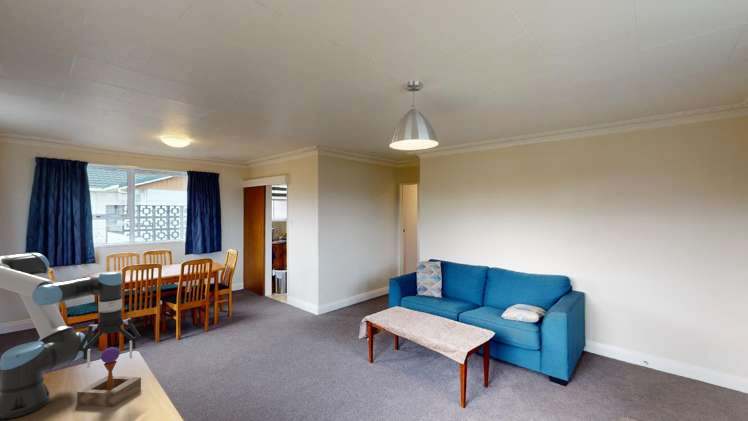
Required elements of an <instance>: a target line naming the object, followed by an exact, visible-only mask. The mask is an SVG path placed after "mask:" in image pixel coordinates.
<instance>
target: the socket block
mask: <svg viewBox="0 0 748 421" xmlns="http://www.w3.org/2000/svg"><path fill="white" fill-rule="evenodd" d="M107 380H108V375H106V376H104V377H102V378H101V379H99V380H96V381H95V382H93V383H91V384H90V385H87V386H85V387H84V388H82V389H79V390H77V392H76V405H77V406H93V407H96V406H97V407H116V406H118V404H120V403H121V402H123V401H125V400H126V399H128V398H129V397H131V396H133V395H134V394H136V393H137V392H139V391H140V390H142V377H141V376H139V377H138V376H118V375H113V382H114V389H112V390H110V391H109V390H106V387H107Z"/></svg>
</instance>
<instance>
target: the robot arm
mask: <svg viewBox="0 0 748 421" xmlns="http://www.w3.org/2000/svg"><path fill="white" fill-rule="evenodd" d="M49 271H50V262H49V260H48V258H47V257H46V256H45V255H44V254H41V253H39V252H23V253H13V254H2V255H0V289H3V290H7V291H10V292H13V293H18V294H19V295H20V298H21V300H22V302H23V304H24V306H25V308H26V311H27V312H28V315H29V317H30V318H31V321H32V323H33V324H34V325H33V326H34V327H35V329H36V331H37V334H38V335H39V339H38V340H37V341H36V340H35V341H30V342H27V343H22V344H19V345H16V346H14V347H12V348H10V349H7V350H6V351H5V352H4V353H3V354H2V355H1V357H0V418H3V419H2V420H5V419H4V418H9V419H13V418H17V417H18V418H19V417H21V416H24V415H27V414H30V413H33V412H34V411H35V412H36V411H38V410H40V409H41V408H43V407H44V406H46V405H47V404H48V403H49V402H50V401H51V395H50V392H49V389H48V387H47V385H46V384H45V373H46V372H47V373H48V372H49V371H53V370H54V369H57V368H60V367H63V366H65V365H67V364H68V365H69V364H71V363H73V362H74V361H77V360H79V359H81V358H82V357H83V358H82V359H83V360H86V361H87V362H86V368H87V369H89V368H91V347H92V346H93V345H94V343H95V342H97V340H98V339H100V337H101V336H102V335H104V334H105V335H109V334H111V333H113V334H115V333H116V332H119V333H121V334H122V335H123V336H125V337H126V338H127V339H128V340H129V359H133V350H135V349H136V341H138V340H140V339H141V334H140V333H139V331H138V330H137V328H136V327H135V326H134V324H133V323H132V318H131V317H128V318H127V319H123V309H122V308H123V275H122V272H120V271H107V272H102V273H100V274H99V275H98V276H90V275H88V276H80V277H78V278H76V279H72V280H66V281H56V280H51V279H48V278H47V277H48V276H47V275H48V273H49ZM89 296H98V311H99V312H98V323H97V324H92V323H91V324H89V325H88V328H87V332H86V333H83V332H81V331H75V330H74V327H73V326H68V325H67V324H66V322H65V320H64V318H63V316H62V315H61V314H62V313H61V312H60V310H59V308H58V305H57V304H58V303H62V302H66V301H71V300H76V299H80V298H83V297H84V298H85V297H89ZM124 324H125V325H128V328H130V330H131V332H132V333H133V335H134V336H133V335H132V334H131V333H130V332H128V331H127V330H126V329H124V328H123V327H122V326H123V325H124ZM96 328H97V330H99V331H98V332H97V333H96V334H95V335H94V336H93V337H92V339H91V340H90V341H89V342H88V339H89V337H90V336H91V334H92V332H93V331H95V329H96Z"/></svg>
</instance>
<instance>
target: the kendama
mask: <svg viewBox="0 0 748 421" xmlns="http://www.w3.org/2000/svg"><path fill="white" fill-rule="evenodd" d="M119 357H120V350H119V349H118V348H117V347H115V346H110V347H107V348H105V349H104V350H103V351H102V353H101V355H100V360H101V361H102V362H103V366H104V367H105V369H106V370H107V372H108V373H107V374H108V375H107V376H108V380H107V387H106V390H109V391H110V390H112V389H114V382H113V376H114V374H113V370H114V369H115V366H116V364H117V363H118V361H117V360H118V358H119Z"/></svg>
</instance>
